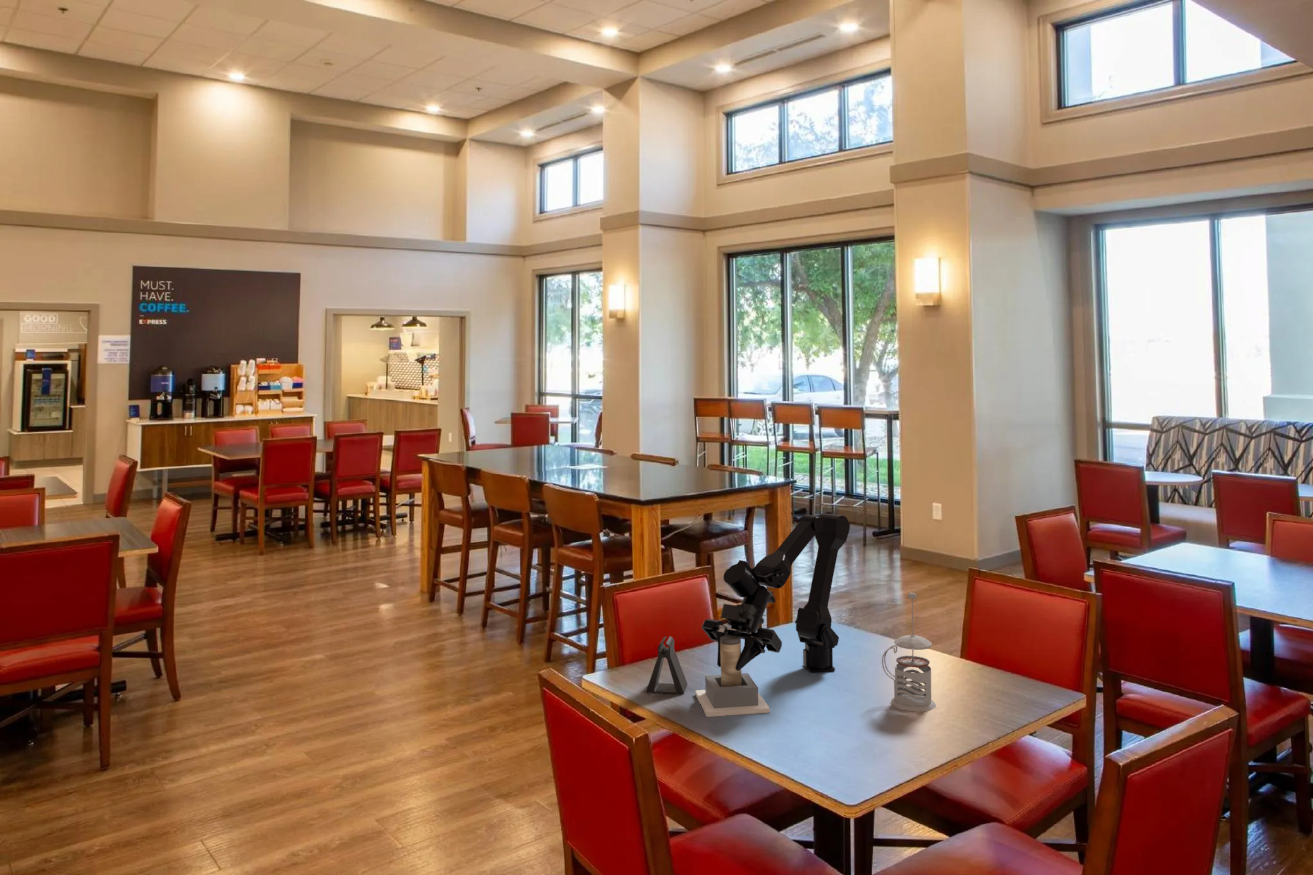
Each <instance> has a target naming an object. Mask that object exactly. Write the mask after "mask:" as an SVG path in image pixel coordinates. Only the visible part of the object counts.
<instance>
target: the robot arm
mask: <svg viewBox="0 0 1313 875" xmlns="http://www.w3.org/2000/svg"><path fill="white" fill-rule="evenodd" d="M850 529H851V523H850V521H849V520H848V518H847V516H845V515H841V514H832V513H824V512H823V513H821V514H820V515H819V516H818V515H811V514H804V515H802V516H801V517H800V518H799V520H798V523H797V524H796V525H795V526H794V528H793V529H792V530H791V531H790V533H789V534H788V535H787V537H786V538H785V539H784V540H783V542H782V543H781V544H780V545H779V547H778V548H777V549H776V550H775V551H773V552H772V553H770V554H768V555H766V556H764V557H763V558H761V560H759V561H758V562H757V563H756V564H755V566H754V567H751V566H750V565H749V564H750V563H748V562H747V561H746V560H740V559H739V560H738V562H737V563H735V564H732V565H731V566H730V567H728V568H727V569H726V570H725V571H724V573H723V581H724V583H726V584H727V587H729V588H730V589H731V590H732V591H733V592H734V593H735V594H736V595H737V597H739V598H742V601H741V603H740V604H739V603H738V604H736V605H734V604H727V603H723V606H722V609H721V614H720V619H726V620H727V621H726V622H727V624H728V625H729V626H730V627H727V626H725V625H724V624H723V622H722V621H721V620H719V619H718V620H717V619H712V618H706V619H705V620H704V621H703V623H702V625H701V627H700V628H701V629H702V630H703V632H704V633H705V634H706V636H707V637H708V638H709V639H710V640H712V641H713V642H717V659H716V660H717V663H716V665H717V667H718V668H721V652H720V638H721V637H723V636H730V635H731V636H738V637H740V638H741V640H744V645H743V648H742V649H741V655H740V657H739V659H738V662H737V665H736V670H737V671H739V670H740V669H741V670H742V669H743V668H744V667H745V666H746V665H748V663H750V662H751V661H752V660H754V659H755V658H756V657H758V656H760V655H761V654H765V653H766V650H767V651H768V652H771V653H772V652H773V653H777V654H778V653H780V651H781V649H782V646H783V642H782V640H781V638H780V636H779V635H778V634H777V633H776V631H775V630H774V629H770V628H765V627H760V625H764V623H765V619H764V618H763V617H764V614H765V611H766V609H767V607H768V604H770V603H771V604H775V603H776V598H775V595H774V591H772V590H768V588H773V589H781V588H783V587H784V586H785V584H786V583H787V581H788V579H789V578H790V575H791V573H792V565H793V564H794V562H795V561H796V560H797V559H798V557H799V556H800V555H801V553H802V552H803V551H804V550H805V548H806V547H807V546H808V544H810V542H811V540H813V538H815V540H816V543H817V545H818V548H817V553H816V558H815V562H814V568H813V574H812V579H811V583H810V589H809V594H808V601H807V602H806V604H805V605H804V606H803V607H799V608H798V609H797V615H796V620H795V621H794V624H795V631H796V632H797V636H798V640H799V642H800V643H804V648H803V649H802V653H803V654H802V665H803V666H804V667H805V668H806V669H807V670H808V671H809V672H810V673H817V672H818V673H819V672H833V671H836V667H834V665H833V664H834V661H833V654H834V653H833V649H834V648H835V647H837V646H838V644H839V641H840V640H839V639H840V637H839V636H838V634H837V633H836V632H835V630H834V629H833V627H832V616H831V613H830V609H829V603H830V602H829V600H830V597H831V591H832V586H833V581H834V580H833V579H834V574H835V569H836V563H837V560H838V553H839V550H840V549H841V548H842V547H843V546H844V545H845V543H846V542H847V540H848V535H849V533H850ZM767 587H768V588H767ZM765 648H766V650H765Z"/></svg>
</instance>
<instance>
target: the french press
mask: <svg viewBox="0 0 1313 875" xmlns="http://www.w3.org/2000/svg"><path fill="white" fill-rule="evenodd" d="M917 597H918V595H917V594H916V593H915V592H909V593H908V594H907V598H908V599H911V633H912V634H909V635H905V634H904V635H902V636H900V637H898V638H896V639H894V640H893V642H894V645H891V646H890V647H888V648H887V649H886V650H885V651H884V652H883V654H882V657H881V664H882V669H883V671H884V674H885V675H886V676H887V677H888V678H890V679H892V680H893V688H894V690H893V691H894V694H893V695H894V696H893V698H891V700H890V704H891V705H892V707H895V708H897V709H899V710H903V711H909V712H928V711H932V710H934V709H935V708H936V707H937V703H936V702H934V701H933V699H932V667H931V666H929V664H930V662H931V661H930V660H929V659H928V658H925V657H922V656H918V655H917V656H916V655H914V651H915V650H919V651H923V650H927V649H930V648H931V647H932V644H933V643H932V642H931V641H930V640H928V639H927V638H926V637H922V636H920V635H915V634H914V599H917ZM898 648H901V649H906V650H912V653H911V654H912V655H902V656H898V657H897V658H896V660H895V661H896V663H897V664H896V665H895V666H894V674H893V673H891V671H890V670H889V669H888V667H887V664H886V656H887V654H888V651H889V650H891V649H893V653H894V654H897V652H898ZM907 668H910V669H907ZM911 668H917V669H919V670H920V671H919V670H916V669H911ZM905 669H907V670H905ZM904 670H905V671H904ZM886 671H887V672H888V673H887V672H886ZM921 671H922V672H921ZM889 674H890V675H889ZM893 677H894V678H893ZM907 679H908V680H907ZM909 679H910V680H909ZM908 685H909V686H908Z"/></svg>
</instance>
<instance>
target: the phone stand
mask: <svg viewBox="0 0 1313 875" xmlns="http://www.w3.org/2000/svg"><path fill="white" fill-rule="evenodd" d="M666 639H667V636H666V635H665V636H664V637H663V638H662V640H661V641H660V643H659V645H658V646H657V653H658V654H657V658H656V662H655V664H654V667H653V670H652V674H651V676H650V679H649V682H648V685H647V688H646V691H645V692H646V693H647V694H661V695H662V694H666V695H667V694H668V695H684V694H685V692H686V689H687V687H688V682H687V679H686V676H685V674H684V671H683V669H682V666H681V664H680V661H679V660H680V659H679V658H678V655H677V652H676V651H675V639H674V638H673V637H672V636H671V635H670V636H669V637H668V639H667V640H666ZM665 641H666V642H665ZM664 642H665V643H664ZM665 645H666V646H665ZM665 659H666V661H667V664H668V668H669V671H670V675H671V679H672V681H673V682H672V683H665V682H664V683H662V682H659V680H660V677H661V672H662V668H663V665H664V660H665Z"/></svg>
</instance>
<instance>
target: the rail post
mask: <svg viewBox="0 0 1313 875" xmlns="http://www.w3.org/2000/svg"><path fill="white" fill-rule="evenodd" d="M720 652H721V667H720V675H721V687H731V686H742V678H741V673H742V669H740V670H739V671H737V670H736V665H737V662H738V659H739V657H740V655H741V652H742V639H741V638H740V637H738V636H731V635H730V636H723V637H721V638H720Z"/></svg>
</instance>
